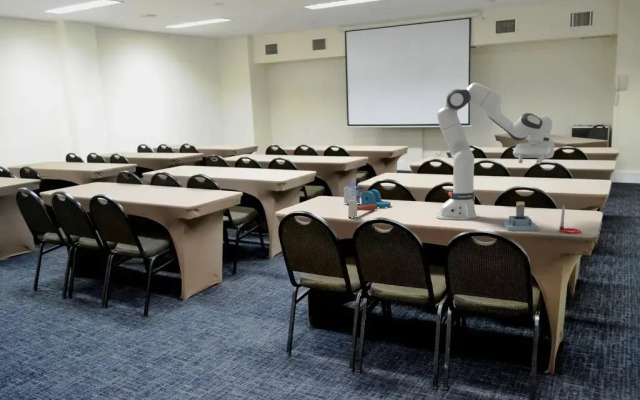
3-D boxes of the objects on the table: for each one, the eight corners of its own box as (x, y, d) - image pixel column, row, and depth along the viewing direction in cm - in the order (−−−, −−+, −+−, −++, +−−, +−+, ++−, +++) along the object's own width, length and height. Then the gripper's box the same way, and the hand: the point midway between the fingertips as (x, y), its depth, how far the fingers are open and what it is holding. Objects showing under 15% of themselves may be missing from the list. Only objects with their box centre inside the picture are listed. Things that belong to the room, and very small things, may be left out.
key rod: (516, 224, 260) (517, 203, 258) (515, 222, 263) (515, 201, 261) (524, 224, 259) (525, 202, 257) (523, 222, 263) (523, 201, 261)
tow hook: (579, 230, 251) (558, 229, 253) (581, 204, 248) (560, 203, 251) (582, 235, 243) (560, 233, 246) (584, 208, 240) (563, 207, 243)
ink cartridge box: (360, 204, 350) (359, 182, 348) (356, 205, 346) (355, 184, 343) (348, 203, 356) (347, 182, 353) (343, 204, 351) (343, 183, 349)
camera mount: (361, 207, 339) (360, 191, 337) (368, 204, 347) (368, 189, 345) (386, 208, 329) (385, 192, 327) (393, 206, 337) (392, 190, 336)
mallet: (372, 199, 328) (348, 200, 304) (377, 200, 326) (353, 200, 302) (371, 216, 329) (347, 218, 304) (376, 216, 327) (352, 218, 302)
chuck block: (508, 230, 256) (508, 220, 255) (503, 224, 269) (503, 215, 269) (537, 230, 253) (538, 220, 252) (531, 224, 267) (531, 214, 266)
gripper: (516, 138, 279) (507, 158, 273) (554, 138, 264) (547, 159, 259) (519, 146, 282) (511, 165, 277) (558, 146, 268) (550, 167, 263)
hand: (528, 162), depth 268 cm, fingers open, 8 cm apart
